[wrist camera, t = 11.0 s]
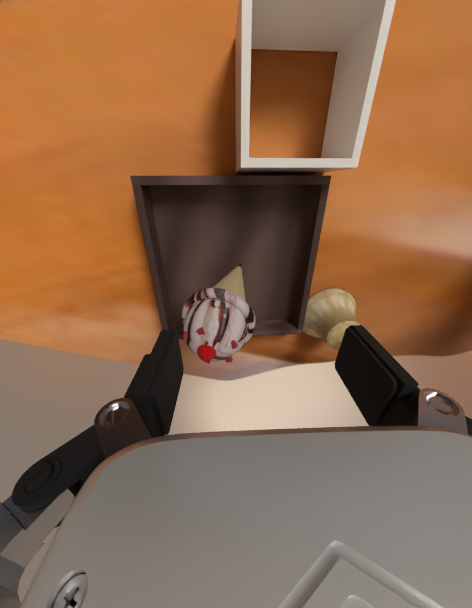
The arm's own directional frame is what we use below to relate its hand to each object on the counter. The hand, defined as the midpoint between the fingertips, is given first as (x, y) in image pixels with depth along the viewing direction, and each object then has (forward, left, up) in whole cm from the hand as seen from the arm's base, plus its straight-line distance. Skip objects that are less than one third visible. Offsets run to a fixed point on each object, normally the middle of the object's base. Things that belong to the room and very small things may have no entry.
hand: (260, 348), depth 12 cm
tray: (+1, 0, -16) cm, 16 cm away
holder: (-4, -14, -16) cm, 22 cm away
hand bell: (-13, +8, -16) cm, 22 cm away
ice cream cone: (0, 0, -16) cm, 16 cm away
